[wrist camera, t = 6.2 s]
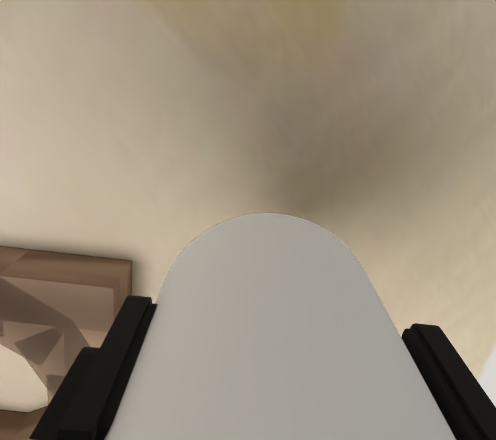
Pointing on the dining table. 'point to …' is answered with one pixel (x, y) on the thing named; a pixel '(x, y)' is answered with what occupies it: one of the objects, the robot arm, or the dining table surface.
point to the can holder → (55, 315)
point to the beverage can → (273, 345)
